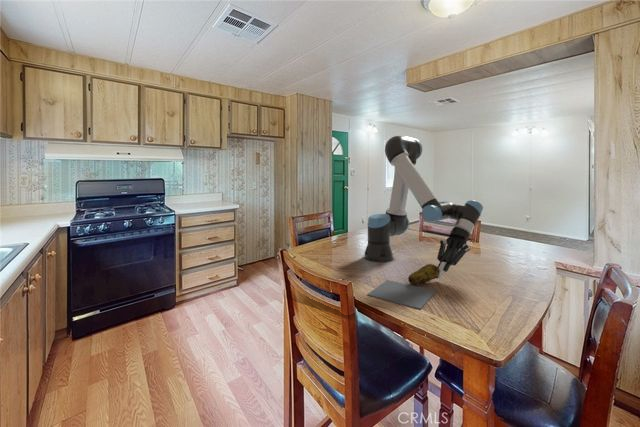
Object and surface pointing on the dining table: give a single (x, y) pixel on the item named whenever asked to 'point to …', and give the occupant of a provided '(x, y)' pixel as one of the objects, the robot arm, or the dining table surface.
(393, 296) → the mat
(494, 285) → the dining table surface
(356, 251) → the dining table surface
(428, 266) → the potato
